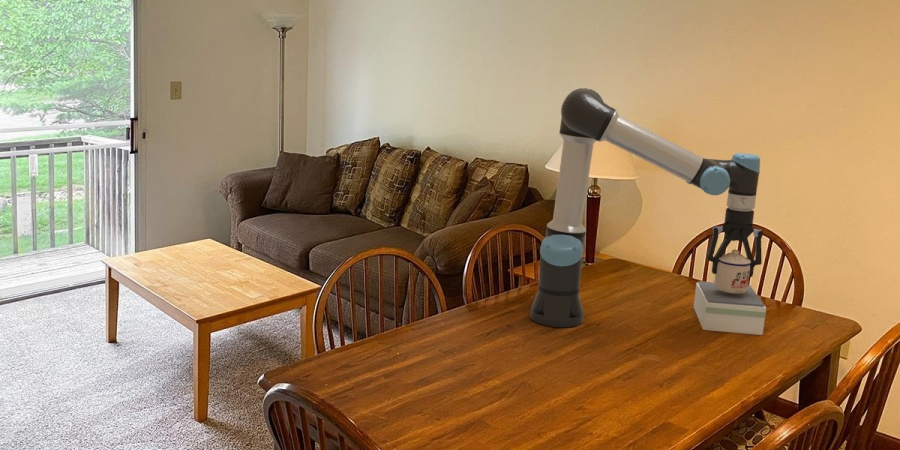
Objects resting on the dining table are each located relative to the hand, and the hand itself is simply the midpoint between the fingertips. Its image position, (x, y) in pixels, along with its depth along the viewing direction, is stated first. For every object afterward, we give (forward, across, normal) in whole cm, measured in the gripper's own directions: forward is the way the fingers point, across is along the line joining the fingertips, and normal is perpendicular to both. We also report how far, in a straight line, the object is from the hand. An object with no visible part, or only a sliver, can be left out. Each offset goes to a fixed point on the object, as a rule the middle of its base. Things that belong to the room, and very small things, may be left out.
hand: (730, 285), depth 228 cm
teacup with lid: (+1, +1, 0) cm, 1 cm away
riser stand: (+11, 0, 0) cm, 11 cm away
